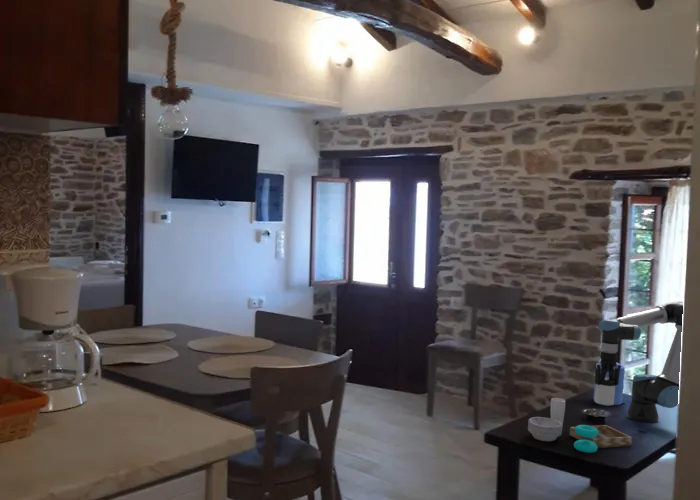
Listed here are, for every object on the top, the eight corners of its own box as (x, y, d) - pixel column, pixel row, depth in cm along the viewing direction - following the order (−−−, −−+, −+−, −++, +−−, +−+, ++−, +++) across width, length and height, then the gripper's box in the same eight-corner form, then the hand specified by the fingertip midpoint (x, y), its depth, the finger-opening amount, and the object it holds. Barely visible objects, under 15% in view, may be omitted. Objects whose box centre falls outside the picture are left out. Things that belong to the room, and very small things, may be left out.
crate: (605, 433, 324) (606, 425, 324) (631, 445, 307) (631, 437, 307) (569, 435, 319) (570, 426, 319) (593, 448, 302) (594, 439, 301)
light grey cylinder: (547, 427, 329) (549, 397, 329) (561, 428, 329) (563, 398, 328) (551, 432, 323) (553, 401, 322) (565, 432, 322) (567, 401, 322)
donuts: (575, 422, 305) (599, 426, 301) (574, 444, 306) (597, 448, 302) (574, 428, 296) (598, 432, 292) (572, 451, 297) (596, 455, 293)
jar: (605, 406, 323) (607, 381, 323) (590, 401, 330) (593, 377, 330) (616, 404, 328) (619, 380, 328) (602, 400, 335) (605, 376, 335)
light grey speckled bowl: (557, 446, 302) (558, 428, 302) (523, 439, 310) (524, 422, 309) (564, 437, 316) (565, 420, 315) (532, 431, 323) (533, 414, 323)
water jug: (619, 407, 374) (622, 357, 373) (590, 401, 382) (593, 353, 381) (625, 401, 387) (628, 353, 386) (596, 396, 395) (599, 349, 394)
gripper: (619, 350, 334) (615, 396, 335) (589, 349, 330) (585, 397, 331) (629, 353, 327) (625, 401, 328) (598, 353, 322) (594, 401, 323)
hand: (605, 399), depth 329 cm, fingers closed on jar, 4 cm apart
